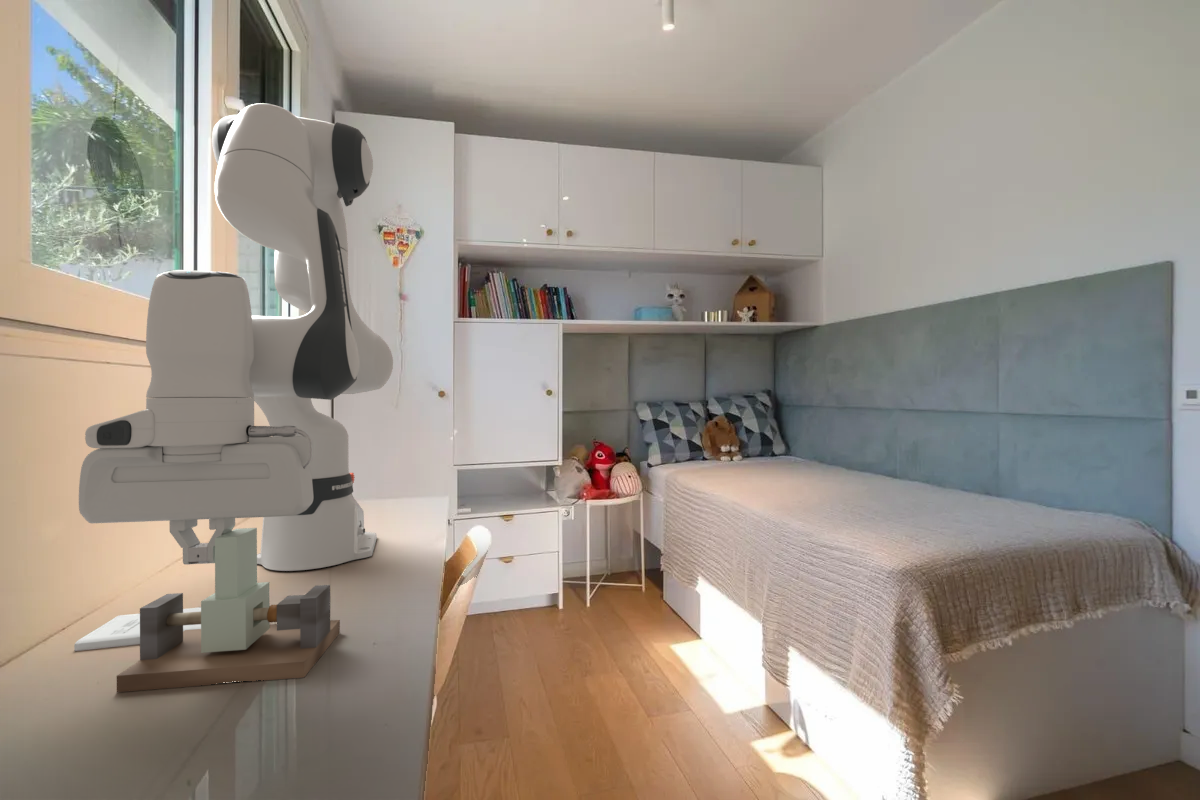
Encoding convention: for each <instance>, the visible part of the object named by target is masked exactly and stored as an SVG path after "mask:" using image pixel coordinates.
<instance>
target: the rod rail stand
mask: <svg viewBox="0 0 1200 800" xmlns="http://www.w3.org/2000/svg"><path fill="white" fill-rule="evenodd" d="M183 609H184V592H176V593H175V592H174V593H167V594H166V593H165V594H164V595H162V596H161V597H159V598H157V599H154V600H153V601H151V602H150V603H147V604H145V605H143V606H141V607H140V608H139V614H140V644H139V660H138V661H137V662H134V664H132V665H131V666H129V667H128V668H126V669H125V670H123V671H122V672H120V673H119V674H117V675H116V693H125V692H135V691H136V692H137V691H150V690H151V691H152V690H162V689H174V688H175V689H176V688H186V687H187V688H189V687H200V686H201V685H202V686H211V684H215V685H219V684H218V683H223V682H225V683H226V682H232V681H233V682H234V681H236V682H238V681H239V682H240V681H242V682H240V683H244V682H243V681H252V682H259V681H258V680H261V681H262V682H264V681H274V680H275V681H276V680H286V679H287V680H288V679H299V678H305V677H306V676H307V675H308V673H309V672H310V671H311V670H312V668H313V667H314V666H315V665H316V664H317V662H318V661H319V659H320V658H321V657H322V656H323V655H324V653H325V652H326V651H327V650H328V648H329V647H331V645H332V643H333V642H334V641H335V640H336V639H337V637H338V636H339V635H340V633H341V619H333V620H331V584H321V585H320V584H317V585H314V586H313V587H312V588H311V589H309V591H307V592H306V593H305V594H297V595H295V594H294V595H286V597H284V598H283V599H282V600H281V601H279V602H278V603H277V604H271V605H270V607H268V608H253V621H258V620H268V622H270V629H269V630H267V631H266V632H265V633H264V634H263V635H262V636H261V637H260V638H258V639H257V640H256V641H255V642H254V643H253V644H252V645H250V646H249V647H248V648H247V649H246V650H233V651H219V652H205V653H201V629H193V630H185V631H183V625H196V624H201V612H187V613H183ZM256 680H257V681H256ZM263 680H264V681H263ZM261 681H260V682H261ZM216 683H217V684H216Z"/></svg>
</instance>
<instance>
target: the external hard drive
mask: <svg viewBox="0 0 1200 800" xmlns="http://www.w3.org/2000/svg"><path fill="white" fill-rule="evenodd" d="M187 612H201V606H200V607H190V608H188V607H187V608H183V613H187ZM193 629H201V624H196V625H183V631H185V630H193ZM137 645H140V613H133V614H130V613H129V614H119V615H116V616H115V617H114V618H112V619H110V620H109V621H107V622H105V623H104V624H102V625H100V626H99V627H98V628H96V629H94V630H93V631H91V632H89V633H88V634H86V635H84V636H83V637H81V638H79V639H78V640H76V642H75V643H74V652H80V651H88V650H96V649H97V650H98V649H107V648H108V649H109V648H116V647H126V646H127V647H128V646H137Z"/></svg>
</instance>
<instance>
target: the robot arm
mask: <svg viewBox="0 0 1200 800" xmlns="http://www.w3.org/2000/svg"><path fill="white" fill-rule="evenodd" d="M211 134H212V135H211V136H212V137H211V145H212V151H213V155H214V160H215V162H216V164H217V168H216V172H215V179H214V180H215V181H214V195H215V196H214V197H215V202H216V205H217V208H218V210H219V212H220V213H221V214H222V216H223V217H224V219H225V220H226V221H227V222H228V224H230V226H231V227H233V228H234V229H235V230H236V231H238V232H239V234H241V235H242V236H244V237H246V238H247V239H248V240H250V241H251V242H254V243H256V244H258V245H260V246H262V247H265V248H267V249H271V250H274V286H275V287H274V288H275V290H276V292H277V294H278V295H279V297H280V298H281V299H282V300H283V301H285V303H288V304H290V305H291V306H293V307H295V308H297V309H299V310H300V311H304V312H305V314H303V315H299V316H278V315H277V316H273V315H268V316H267V315H266V316H265V315H253V314H252V307H251V302H250V301H251V299H250V294H249V290H248V285H247V282H246V279H245V278H244V277H242V276H239V275H238V274H235V273H232V272H226V271H211V270H190V269H189V270H188V269H187V270H185V269H172V270H171V269H170V270H166V271H164V272H162V273H159V274H157V276H156V277H155V279H154V281H153V285H152V287H151V291H150V295H149V296H150V297H149V301H148V309H147V318H146V337H145V339H146V340H145V352H146V358H147V361H148V363H149V366H150V370H151V371H150V373H151V377H150V382H149V386H148V388H147V390H146V396H145V397H146V399H145V401H146V402H145V407H146V408H145V409H142V410H140V411H136V412H132V413H130V414H126V415H124V416H120V417H117V418H113V419H109V420H106V421H103V422H99V423H95V424H92V425H90V426H89V427H87V428H86V430H85V433H84V435H85V436H84V439H85V444H86V446H87V447H88V448H92V449H94V450H92V451H91V452H89V453H88V454H87V455H86V456H85V458H84V459H83V461H82V464H81V469H80V473H79V485H78V509H79V510H78V511H79V513H80V515H81V516H82V517H83V519H84V520H85V521H86V522H88V523H89V524H110V523H111V524H112V523H114V524H115V523H116V524H117V523H140V522H141V523H142V522H167V521H168V522H169V533H170V535H171V536H172V537H173V539H174V541H176V543H177V544H178V546H180V548H182V563H183V564H184V565H187V566H188V565H189V566H190V565H201V564H206V565H207V564H215V538H216V537H218V536H221V535H223V534H225V533H228V532H230V531H232V530H234V529H235V526H236V519H247V518H249V519H250V518H251V519H252V518H253V519H254V518H262V529H261V543H260V553H257V565H262V566H263V568H265V569H267V570H271V571H282V572H285V571H286V572H288V571H289V572H293V571H305V570H306V571H307V570H314V569H321V568H326V567H331V566H336V565H341V564H343V563H347V562H350V561H355V560H360V559H365V558H368V557H372V556H373V554H374V550H375V546H376V541H377V539H378V538H377V532H373V531H372V532H371V531H366V528H365V516H364V515H365V514H364V509H363V508H362V506H360V504H359V503H358V501H357V500H356V499H355V497H354V496H353V493H354V487H353V485H354V483H355V482H354V481H355V473H354V472H349V470H350V469H349V467H350V466H349V434H348V431H347V429H346V428H345V426H344V425H343V424H342V423H341V422H340V421H338V420H336V419H334V418H333V417H331V416H329V415H326V414H324V413H322V412H320V411H318V410H317V409H316V408H315V406H314V405H313V401H312V399H314V400H315V399H317V400H329V401H331V400H334V399H335V398H337V397H338V396H340V395H354V394H361V393H367V392H371V391H376V390H380V389H382V388H383V387H384V386H385V385H386V384H387V382H388V381H389V379H390V377H391V375H392V372H393V369H394V359H393V358H394V357H393V353H392V350H391V348H390V347H389V345H388V344H387V343H388V342H386V341H385V340H384V338H382V337H381V336H380V335H378V334H377V333H376V332H375V331H373V330H372V329H371V328H370V327H369V326H368V325H367V324H365V322H364V321H363V320H362V318H361V317H360V316H359V313H358V312H357V311H356V308H355V306H354V303H353V300H352V296H351V293H350V291H351V290H350V281H349V263H348V262H349V258H348V257H349V249H348V247H349V245H348V243H349V242H348V232H347V226H346V218H345V213H344V210H343V205H342V202H341V199H342V200H343V203H344V206H345V207H349V206H352V204H353V202H354V199H356V198H359V197H361V196H362V194H363V193H364V192H366V190H367V188H368V187H369V186H370V182H371V178H372V175H373V169H374V161H373V156H372V152H371V148H370V147H369V145H368V142H367V138H366V136H365V135H364V134H363V132H361V130H359V129H358V128H356V127H354V126H352V125H351V126H350V125H348V124H344V123H342V122H338V121H336V122H335V123H332V122H328V121H323V120H318V119H314V118H307V117H300V116H296V115H295V114H294V113H292V111H289V110H288V109H286V108H283V107H282V106H280V105H279V106H278V105H275V104H271V103H264V102H262V103H261V102H260V103H254V104H253V103H252V104H249V105H247V106H245V107H244V108H243V109H241V110H240V111H239V113H238V114H230V115H226V116H223V117H222V118H220V119H219V120H218V121H217V122H216V123H215V125H213V129H212V133H211ZM255 404H256V405H257V406H258V407H259V409H261V411H262V413H263V415H264V416H265V418H266V420H267V422H268V425H255ZM198 520H208V522H209V523H208V526H209V527H208V528H209V530H210V531H212V530H213V531H214V532H213V534H212V536H211V538H210V539H209V541H208V542H201V541H200V539H199V538H198V536H197V534H196V532H195V531H194V528H195V527H197V526H198Z"/></svg>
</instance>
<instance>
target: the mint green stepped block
mask: <svg viewBox="0 0 1200 800" xmlns="http://www.w3.org/2000/svg"><path fill="white" fill-rule="evenodd" d="M257 554H258V529H257V527H243V528H233V529H232V531H230V532H228V533H225V534H223V535H221V536H218V537H216V538H215V563H214V582H215V583H214V593H212V594H211V595H209V596H207V597H206V598H204V599H202V600H201V602H200V607H201V653H205V652H219V651H233V650H246V649H247V648H248V647H249V646H250V645H252V644H253V643H254V642H255V641H256V640H257V639H258V638H260V637H261V636H262V635H263V634H264V633H265V632H266V631H267V630H269V629H270V624H271V622H268V620H258V621H253V608H268V607H270V606H271V605H270V604H271V603H270V602H271V601H270V581H264V582H258V564H257Z"/></svg>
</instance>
